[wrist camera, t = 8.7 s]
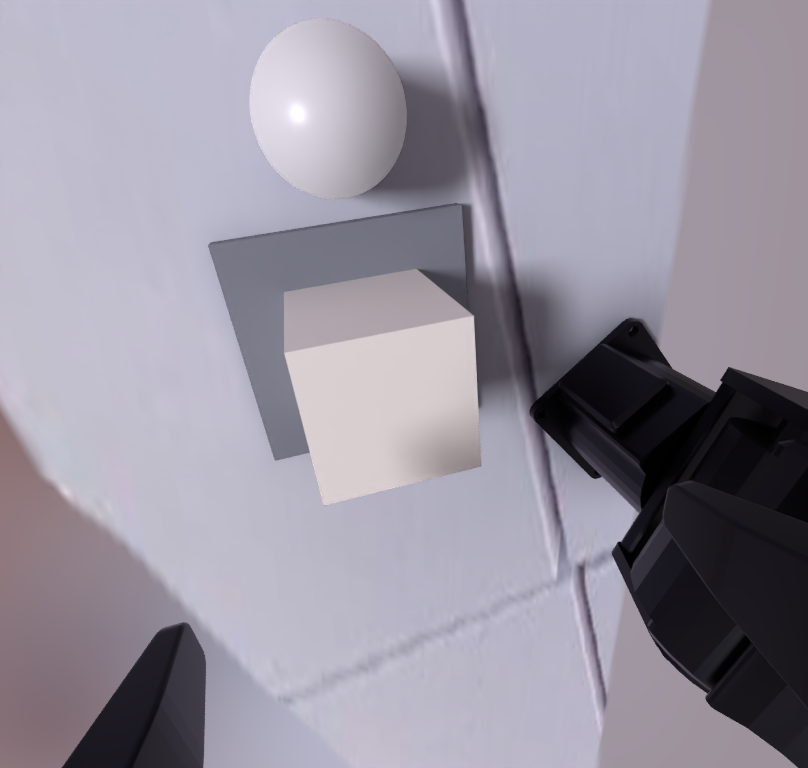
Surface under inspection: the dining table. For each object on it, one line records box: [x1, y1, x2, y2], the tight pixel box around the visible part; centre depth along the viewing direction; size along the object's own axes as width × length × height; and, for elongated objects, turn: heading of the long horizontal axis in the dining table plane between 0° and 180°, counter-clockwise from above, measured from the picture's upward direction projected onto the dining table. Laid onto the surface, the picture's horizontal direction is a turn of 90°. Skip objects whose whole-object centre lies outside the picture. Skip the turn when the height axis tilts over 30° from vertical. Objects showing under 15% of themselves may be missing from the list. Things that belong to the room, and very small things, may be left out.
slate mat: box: [208, 203, 468, 460], centre depth 19 cm, size 9×9×1 cm
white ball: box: [249, 18, 407, 199], centre depth 14 cm, size 4×4×4 cm
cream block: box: [284, 269, 481, 505], centre depth 16 cm, size 5×5×6 cm
